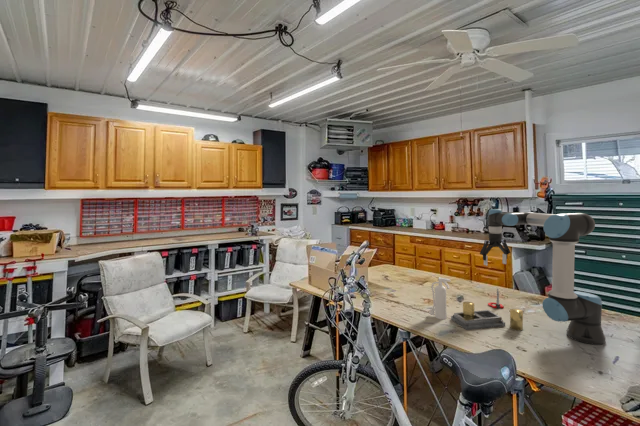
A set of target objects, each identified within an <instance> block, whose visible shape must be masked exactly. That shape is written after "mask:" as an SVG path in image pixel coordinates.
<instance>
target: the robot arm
mask: <svg viewBox="0 0 640 426" xmlns="http://www.w3.org/2000/svg"><path fill="white" fill-rule="evenodd" d="M595 221H596V220H595V219H594V218H593V217H592V216H591V215H589V214H587V213H584V212H575V213H574V212H573V213H571V212H569V213H557V214H554V213H541V212H532V211H526V212H525V211H524V212H503V211H502V209H501V208H497V209H496V208H494V209H493V208H492V209H489V210H488V240H487V239H486V240H484V242H483V246H482V248H481V250H480V252H479V255H482V260H483V266H488V265H489V264H488V260H489V259H488V254H489V252H490V251H491V250H492V249H493V248H499V250H500V251H501V252H502V255H501V256H502V261H501V263H502V264H503V265H507V259H508V255H509V254H511V251H510V249H509V246H508V244H507V240H506V239H502V238H503V234H502V232H503V226H508V227H510V226H515V225H516V226H519V225H526V226H527V225H528V226H535V227H543V232H544V233H545V235H546V236H547V237H548V238H549V239H548V240H549V241H550V242H551V243H552V275H551V276H552V277H551V284H552V287H551V289H550V290H549V291H548V293H547V295H548V297H546V298H545V299H543V300H542V302H541V303H542V304H541V306H542V308H543V311H544V313H545V314H546V316H547V317H548V318H549V319H551V320H552V321H554V322H562V323H563V322H564V323H565V322H569V324H568V327H567V328H566V335H567V337H569V338H570V339H572V340H574V341H577V342H580V343H583V344H589V345H597V346H598V345H604V344H605V343H606V341H607V340H606V335H605V334H604V330H603V328H602V313H603V312H602V311H603V304H602V297H600V296H598V295H596V294H592V293H591V292H590V293H589V292H585V291H584V292H583V291H577V290H576V291H575V254H576V253H575V252H576V248H575V247H576V245H577V244H578V243H579V242H580V237H583V236H584V237H586V236H588V235H590V234H591V233H592V232H593V231H594V230H595V227H596V222H595Z"/></svg>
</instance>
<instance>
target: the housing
mask: <svg viewBox="0 0 640 426" xmlns="http://www.w3.org/2000/svg"><path fill="white" fill-rule="evenodd" d="M450 320H452V321H453V322H454V323H456V324H457V325H458V326H460V327H462V328H463V329H464V330H465V331H469V330H471V331H472V330H479V329H481V328H482V329H489V328H491V329H492V328H498V327H506V322H505V321H504V320H503V318H502V316H500V315H498V314H497V313H495V312H493V311H491V310H490V309H482V310H475V303H474V302H472V301H463V302H462V312H454V313H453V314H452V315H451V316H450Z"/></svg>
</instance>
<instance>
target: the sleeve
mask: <svg viewBox="0 0 640 426" xmlns="http://www.w3.org/2000/svg"><path fill="white" fill-rule="evenodd" d="M523 326H524V311H523V310H522V309H519V308H510V309H509V328H510V329H511V330H513V331H519V332H520V331H523V330H524V329H523V328H524V327H523Z"/></svg>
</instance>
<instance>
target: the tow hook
mask: <svg viewBox="0 0 640 426" xmlns="http://www.w3.org/2000/svg"><path fill="white" fill-rule="evenodd" d="M487 305H488V306H489V307H492V309H504V308H505V307H504V305H503V304H501V303H500V291H499V288H496V302H491V301H490V302H488V303H487Z"/></svg>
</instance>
